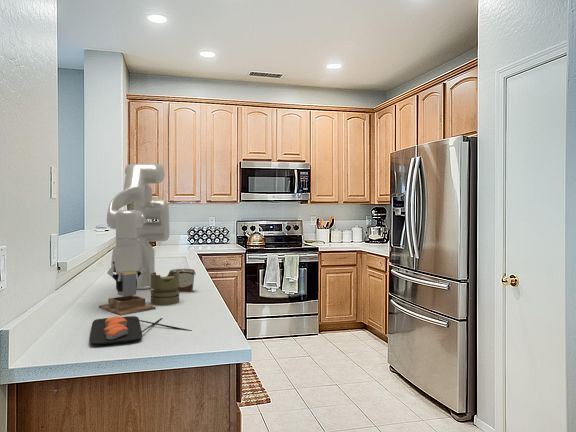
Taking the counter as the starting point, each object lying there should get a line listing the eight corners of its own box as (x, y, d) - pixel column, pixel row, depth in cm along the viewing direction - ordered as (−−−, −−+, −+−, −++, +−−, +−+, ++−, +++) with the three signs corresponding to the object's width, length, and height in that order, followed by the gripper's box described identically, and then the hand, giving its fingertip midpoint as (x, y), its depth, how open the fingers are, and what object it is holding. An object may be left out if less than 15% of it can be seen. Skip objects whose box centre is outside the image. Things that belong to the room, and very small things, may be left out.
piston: (182, 274, 183) (153, 276, 178) (182, 303, 183) (153, 306, 178) (175, 270, 193) (148, 272, 188) (175, 298, 193) (148, 301, 188)
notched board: (98, 307, 176) (98, 297, 176) (132, 302, 186) (132, 292, 186) (120, 315, 164) (120, 304, 164) (155, 308, 174) (155, 299, 174)
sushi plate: (92, 324, 153) (92, 313, 153) (183, 316, 164) (183, 306, 164) (88, 350, 126) (88, 337, 126) (197, 339, 137) (196, 326, 137)
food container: (199, 290, 212) (199, 268, 212) (195, 292, 206) (195, 270, 206) (173, 289, 214) (173, 268, 213) (169, 292, 207) (168, 270, 207)
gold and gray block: (117, 294, 174) (117, 271, 174) (129, 292, 178) (129, 269, 178) (123, 296, 171) (123, 272, 171) (136, 294, 175) (135, 271, 174)
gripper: (141, 241, 183) (142, 286, 183) (100, 243, 171) (100, 292, 171) (151, 242, 178) (151, 288, 178) (109, 245, 166) (109, 294, 166)
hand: (126, 289), depth 175 cm, fingers closed on gold and gray block, 5 cm apart
